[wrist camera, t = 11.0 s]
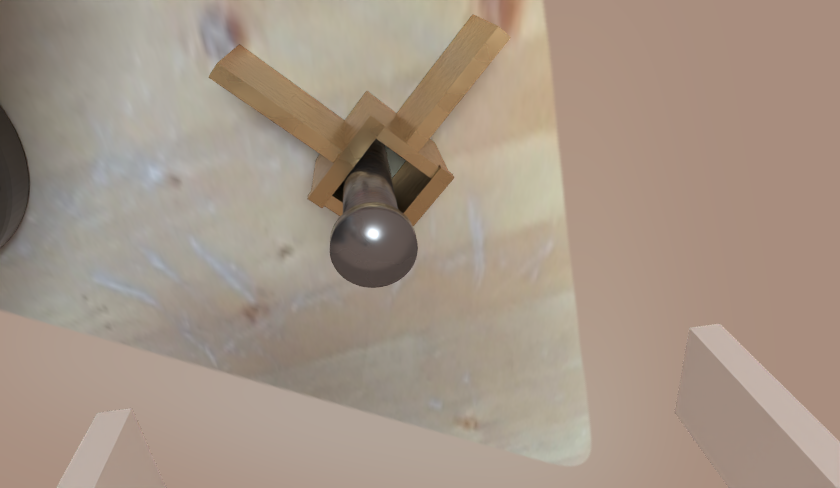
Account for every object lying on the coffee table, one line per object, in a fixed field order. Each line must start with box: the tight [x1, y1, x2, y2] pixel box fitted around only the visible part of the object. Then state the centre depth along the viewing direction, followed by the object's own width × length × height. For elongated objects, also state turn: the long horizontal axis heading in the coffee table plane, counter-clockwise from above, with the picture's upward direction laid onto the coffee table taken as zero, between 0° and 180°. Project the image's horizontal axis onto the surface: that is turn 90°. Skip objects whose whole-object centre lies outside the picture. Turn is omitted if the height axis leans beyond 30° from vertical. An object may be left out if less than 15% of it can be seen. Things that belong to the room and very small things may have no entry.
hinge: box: [209, 15, 511, 226], centre depth 29 cm, size 12×12×6 cm
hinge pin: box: [330, 139, 418, 288], centre depth 29 cm, size 4×4×13 cm
